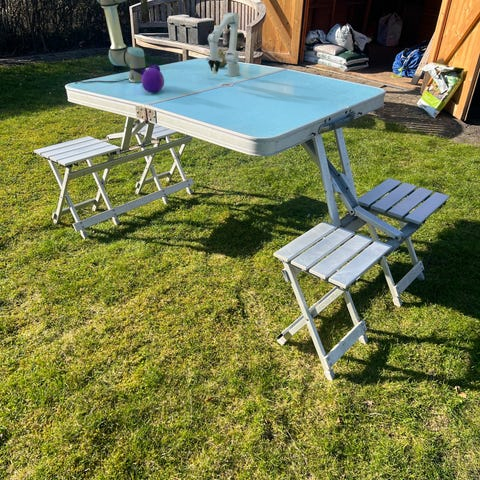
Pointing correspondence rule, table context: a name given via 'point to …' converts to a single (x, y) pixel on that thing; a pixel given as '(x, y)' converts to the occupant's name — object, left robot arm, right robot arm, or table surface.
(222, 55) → the teapot
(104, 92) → the table surface
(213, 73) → the cylinder
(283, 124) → the table surface
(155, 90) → the toy
